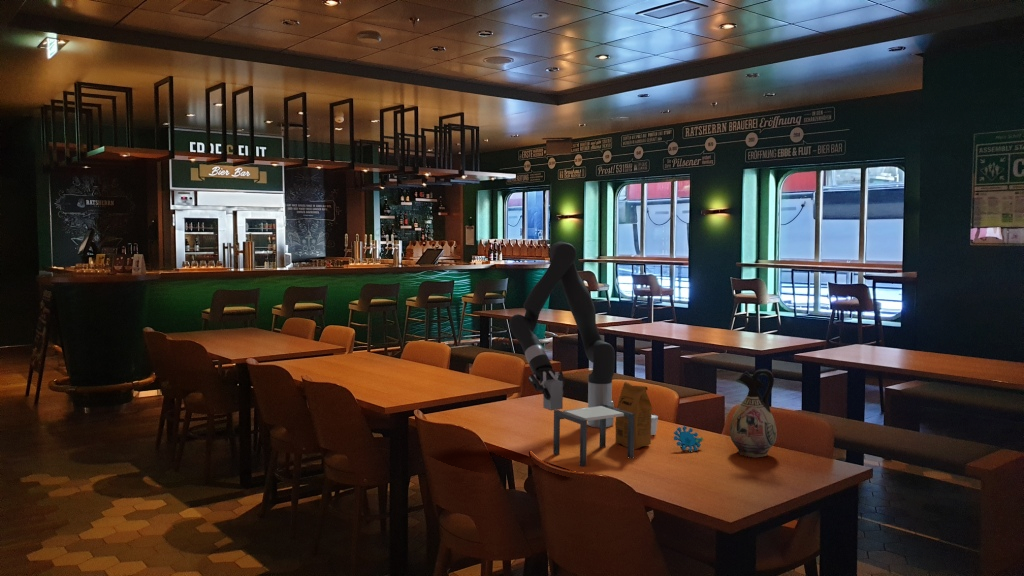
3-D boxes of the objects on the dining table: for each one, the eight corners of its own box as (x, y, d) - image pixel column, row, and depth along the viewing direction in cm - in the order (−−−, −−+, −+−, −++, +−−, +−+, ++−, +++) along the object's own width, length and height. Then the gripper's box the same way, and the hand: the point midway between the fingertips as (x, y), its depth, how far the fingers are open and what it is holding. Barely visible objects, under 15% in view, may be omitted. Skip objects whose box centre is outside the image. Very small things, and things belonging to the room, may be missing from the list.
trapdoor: (600, 408, 269) (600, 405, 269) (623, 416, 258) (623, 412, 258) (562, 413, 261) (562, 410, 261) (584, 421, 250) (584, 417, 250)
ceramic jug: (726, 457, 260) (729, 369, 258) (731, 446, 274) (733, 362, 272) (780, 463, 253) (782, 373, 252) (782, 451, 268) (784, 366, 266)
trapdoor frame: (602, 446, 273) (603, 404, 272) (633, 458, 258) (634, 413, 257) (553, 453, 262) (553, 410, 261) (582, 466, 247) (583, 420, 247)
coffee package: (631, 439, 283) (632, 379, 281) (654, 446, 272) (656, 385, 271) (610, 442, 278) (611, 382, 276) (633, 450, 267) (634, 388, 266)
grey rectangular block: (555, 406, 281) (554, 379, 280) (562, 408, 277) (562, 381, 276) (543, 407, 279) (543, 380, 278) (550, 410, 274) (550, 382, 273)
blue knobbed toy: (678, 449, 264) (672, 423, 270) (671, 457, 268) (665, 432, 275) (707, 451, 266) (701, 426, 273) (700, 460, 270) (694, 435, 277)
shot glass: (659, 433, 292) (660, 415, 291) (655, 437, 286) (655, 418, 285) (641, 431, 295) (642, 413, 294) (637, 435, 289) (637, 416, 288)
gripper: (524, 355, 279) (542, 394, 270) (558, 352, 286) (576, 389, 277) (517, 367, 284) (535, 406, 275) (550, 364, 291) (568, 401, 282)
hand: (555, 397), depth 276 cm, fingers closed on grey rectangular block, 5 cm apart
